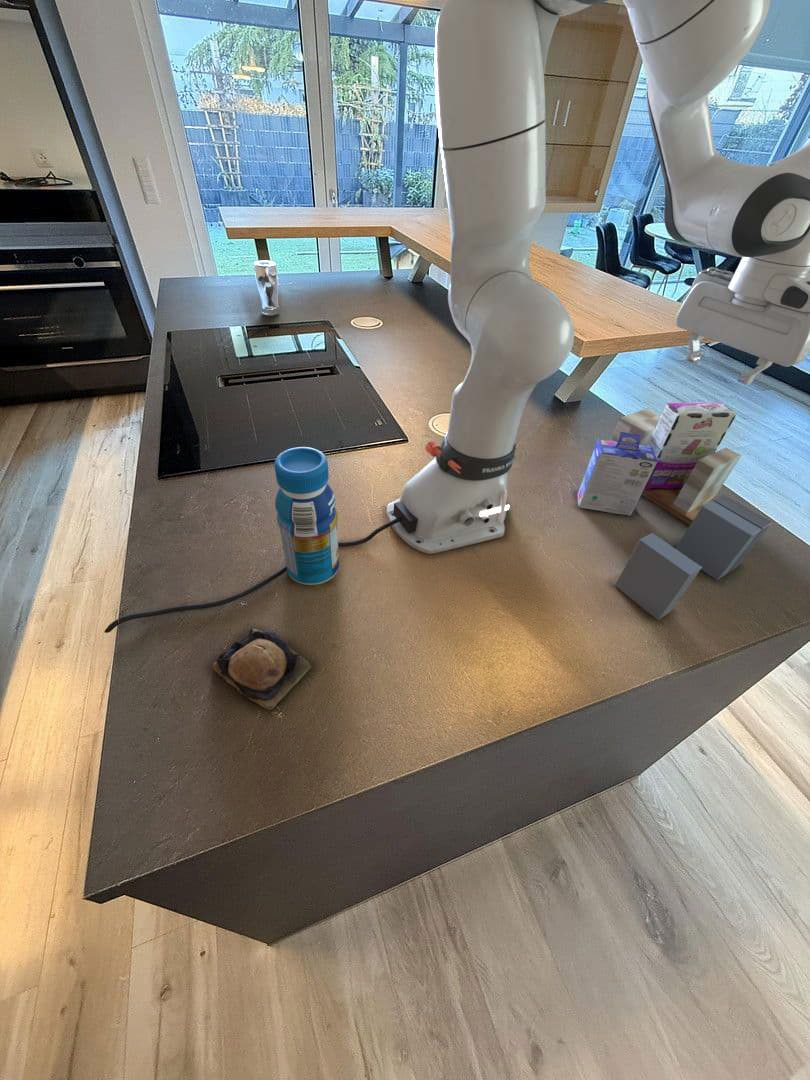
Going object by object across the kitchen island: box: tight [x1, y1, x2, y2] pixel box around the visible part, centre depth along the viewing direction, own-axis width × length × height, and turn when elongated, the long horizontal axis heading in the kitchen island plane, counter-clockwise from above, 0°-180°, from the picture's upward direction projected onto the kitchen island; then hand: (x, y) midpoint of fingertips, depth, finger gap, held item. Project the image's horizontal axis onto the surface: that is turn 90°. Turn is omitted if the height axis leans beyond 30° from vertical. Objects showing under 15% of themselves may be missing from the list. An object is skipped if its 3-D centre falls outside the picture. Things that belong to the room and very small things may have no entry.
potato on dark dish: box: [212, 628, 312, 711], centre depth 58 cm, size 11×8×4 cm
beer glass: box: [253, 260, 280, 317], centre depth 152 cm, size 7×7×15 cm
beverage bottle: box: [274, 446, 340, 586], centre depth 66 cm, size 8×8×20 cm
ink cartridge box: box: [577, 432, 658, 517], centre depth 84 cm, size 10×6×14 cm, turn 78°
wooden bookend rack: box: [610, 408, 742, 526], centre depth 90 cm, size 11×23×11 cm, turn 33°
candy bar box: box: [644, 402, 737, 490], centre depth 88 cm, size 11×5×16 cm, turn 96°
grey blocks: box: [614, 494, 773, 621], centre depth 72 cm, size 22×8×10 cm, turn 123°
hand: (716, 372), depth 78 cm, fingers open, 8 cm apart
